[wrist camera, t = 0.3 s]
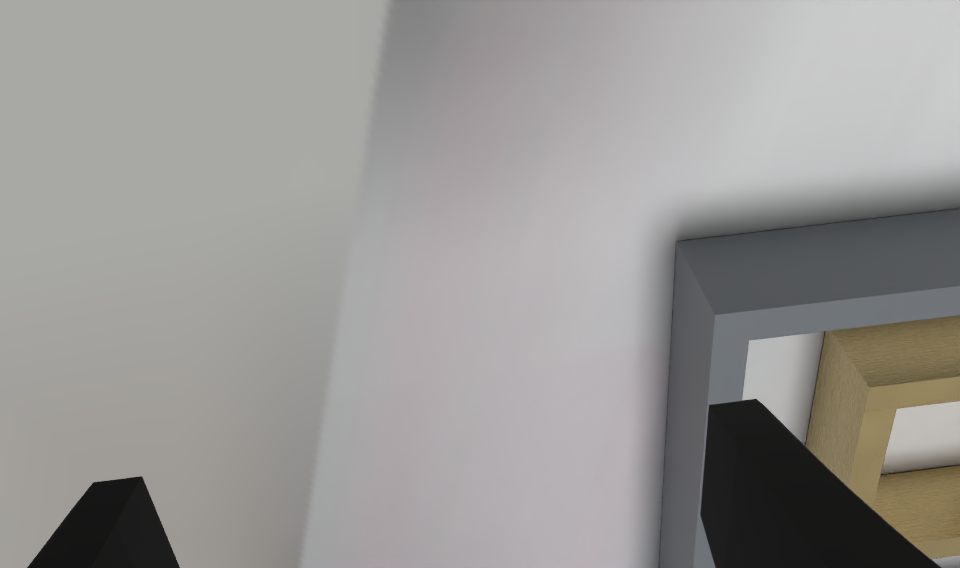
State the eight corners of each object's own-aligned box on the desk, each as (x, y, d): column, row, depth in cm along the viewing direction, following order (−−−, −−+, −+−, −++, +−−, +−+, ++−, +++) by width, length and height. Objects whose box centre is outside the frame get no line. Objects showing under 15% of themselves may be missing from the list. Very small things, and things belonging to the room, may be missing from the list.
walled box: (1093, 567, 31) (1156, 646, 28) (655, 624, 30) (680, 710, 28) (1281, 171, 22) (1394, 234, 20) (676, 241, 22) (714, 315, 19)
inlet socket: (1014, 476, 28) (1066, 541, 25) (795, 504, 27) (829, 571, 25) (1080, 294, 24) (1147, 353, 22) (826, 324, 24) (869, 387, 21)
